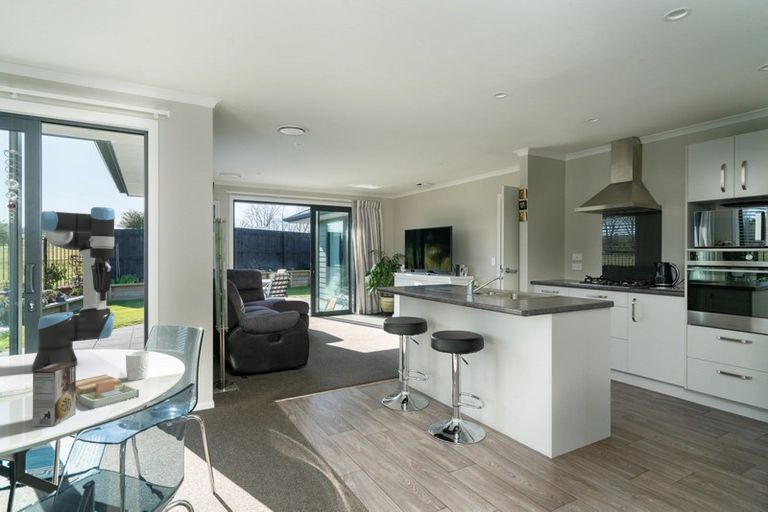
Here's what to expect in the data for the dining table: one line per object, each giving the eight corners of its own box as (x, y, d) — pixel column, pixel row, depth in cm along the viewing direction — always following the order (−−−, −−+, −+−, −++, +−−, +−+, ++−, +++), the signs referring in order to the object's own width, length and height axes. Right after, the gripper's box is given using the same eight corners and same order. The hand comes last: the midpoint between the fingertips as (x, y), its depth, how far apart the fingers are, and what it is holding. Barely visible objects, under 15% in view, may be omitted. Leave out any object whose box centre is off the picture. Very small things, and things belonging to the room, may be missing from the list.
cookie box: (54, 414, 124) (55, 362, 124) (76, 414, 125) (77, 362, 125) (30, 426, 115) (31, 370, 115) (54, 426, 116) (55, 370, 116)
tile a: (95, 383, 138) (98, 384, 136) (112, 379, 142) (114, 380, 141) (95, 397, 138) (98, 398, 136) (111, 393, 142) (114, 394, 141)
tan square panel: (67, 393, 142) (67, 382, 142) (105, 385, 152) (105, 374, 152) (82, 401, 135) (83, 389, 135) (121, 391, 145) (122, 380, 145)
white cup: (137, 382, 156) (137, 356, 156) (120, 380, 158) (120, 355, 158) (152, 376, 164) (153, 351, 164) (136, 374, 166) (136, 350, 166)
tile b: (106, 396, 133) (106, 402, 133) (122, 392, 137) (122, 398, 137) (99, 393, 136) (99, 399, 136) (115, 389, 140) (115, 395, 140)
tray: (79, 402, 134) (79, 395, 134) (124, 391, 146) (125, 384, 146) (92, 409, 129) (92, 401, 129) (138, 396, 140) (138, 389, 140)
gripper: (83, 247, 155) (82, 308, 155) (98, 247, 148) (97, 311, 148) (105, 247, 161) (104, 306, 161) (121, 248, 154) (120, 309, 154)
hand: (101, 309), depth 155 cm, fingers closed
